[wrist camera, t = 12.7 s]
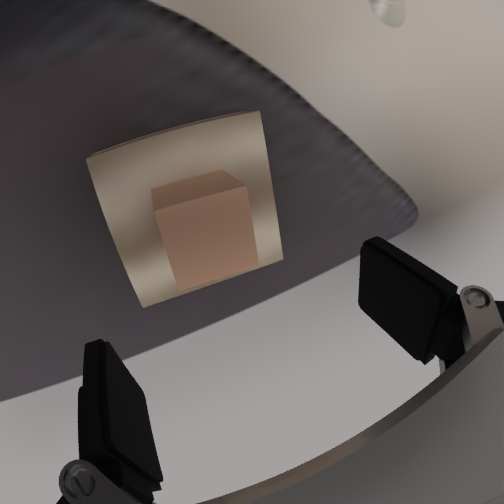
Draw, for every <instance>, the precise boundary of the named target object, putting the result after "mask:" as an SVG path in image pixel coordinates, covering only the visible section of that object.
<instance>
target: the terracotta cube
mask: <svg viewBox="0 0 504 504" xmlns="http://www.w3.org/2000/svg"><path fill="white" fill-rule="evenodd" d="M151 193H152V201H153V208H154V213H155V217H156V220H157V224H158V227H159V230H160V234H161V237H162V240H163V244H164V247H165V250H166V253H167V256H168V260H169V263H170V266H171V269H172V272H173V275H174V278H175V281H176V284H177V287H178V290H179V291H181V290H184V289H187V288H190V287H194V286H197V285H200V284H203V283H206V282H209V281H213V280H216V279H219V278H222V277H225V276H228V275H232V274H235V273H238V272H241V271H244V270H247V269H250V268H253V267H256V266H259V260H258V253H257V247H256V241H255V235H254V228H253V222H252V216H251V210H250V203H249V197H248V191H247V185H245V184H244V183H242V182H241V181H239V180H238V179H236V178H235V177H233V176H232V175H230V174H229V173H227V172H226V171H224V170H219V171H215V172H211V173H207V174H203V175H199V176H195V177H191V178H187V179H184V180H180V181H176V182H173V183H169V184H166V185H162V186H159V187H155V188H152V189H151Z"/></svg>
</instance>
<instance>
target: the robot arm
mask: <svg viewBox="0 0 504 504" xmlns="http://www.w3.org/2000/svg"><path fill="white" fill-rule="evenodd" d="M457 289H458V286H456V285H455V284H453V283H452V282H450V281H449V280H447V279H446V278H444V277H443V276H441V275H440V274H438V273H437V272H435V271H434V270H432V269H431V268H429V267H427V266H426V265H424V264H423V263H421V262H419V261H418V260H417V259H415V258H413V257H412V256H410V255H409V254H407V253H405V252H404V251H402V250H400V249H399V248H397V247H395V246H394V245H392V244H391V243H389V242H387V241H386V240H384V239H382V238H381V237H378V236H376V237H373V238H371V239H368V240H366V241H364V243H363V246H362V247H361V250H360V278H359V296H358V297H359V298H358V303H359V306H360V308H361V309H362V310H363V311H364V312H365V313H366V314H367V315H368V316H369V317H370V318H371V319H372V320H374V321H375V322H376V323H377V324H378V325H379V326H380V327H381V328H382V329H383V330H384V331H386V332H387V333H388V334H389V335H390V336H391V337H392V338H393V339H394V340H395V341H396V342H397V343H398V344H400V346H402V347H403V348H404V349H405V350H406V351H407V352H408V353H409V354H410V355H411V356H412V357H413V358H414V359H416V360H420V361H421V362H422V363H423V364H424V365H426V364H427V363H428V362H429V361H431V360H432V359H433V358H434V357H435V355H436V356H437V357H438V358H439V365H440V376H439V377H437V378H436V379H435V380H434V381H433V382H431V383H430V384H429V385H428V386H426V387H425V388H424V389H422V390H421V391H420V392H419V393H417V394H416V395H415V396H413V397H412V398H411V399H409V400H408V401H407V402H405V403H404V404H403V405H401V406H400V407H398V408H397V409H396V410H394V411H393V412H391V413H390V414H388V415H387V416H385V417H384V418H382V419H381V420H379V421H378V422H376V423H375V424H373V425H372V426H370V427H369V428H367V429H365V430H364V431H362V432H361V433H359V434H357V435H356V436H354V437H352V438H351V439H349V440H347V441H345V442H344V443H342V444H340V445H338V446H336V447H335V448H333V449H331V450H329V451H327V452H325V453H323V454H322V455H320V456H318V457H316V458H314V459H312V460H310V461H308V462H306V463H304V464H301V465H300V466H297V467H295V468H293V469H291V470H289V471H286V472H284V473H282V474H279V475H277V476H275V477H272V478H270V479H267V480H265V481H262V482H260V483H257V484H255V485H252V486H249V487H247V488H244V489H241V490H238V491H235V492H232V493H229V494H226V495H223V496H221V497H218V498H214V499H211V500H208V501H204V502H201V503H197V504H504V301H494V299H493V297H492V295H491V294H490V293H489V292H488V291H487V290H485V289H484V288H482V287H479V286H474V285H471V286H466V287H465V288H463V289H462V290H461V292H460V295H459V294H457V293H456V292H457ZM78 443H79V460H73V461H71V462H69V463H68V464H66V465H65V466H64V468H63V469H62V471H61V473H60V476H59V487H60V490H61V492H62V494H63V495H62V497H61V498H60V500H59V501H58V502H57V503H56V504H156V503H155V502H153V500H154V497H153V493H152V492H154V491H158V490H162V489H161V486H160V482H162V481H163V475H162V471H161V468H160V464H159V460H158V456H157V452H156V447H155V443H154V439H153V434H152V430H151V425H150V420H149V415H148V410H147V405H146V399H145V395H144V393H143V391H142V389H141V387H140V386H139V385H138V383H137V382H136V381H135V379H134V378H133V377H132V375H131V374H130V372H129V371H128V369H127V368H126V367H125V365H124V364H123V362H122V361H121V359H120V358H119V356H118V355H117V353H116V352H115V350H114V349H113V347H112V346H111V344H110V343H109V342H108V341H107V342H104V341H103V340H102V339H98V340H95V341H92V342H89V343H86V344H85V350H84V365H83V386H82V387H80V388H79V392H78Z"/></svg>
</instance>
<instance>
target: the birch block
mask: <svg viewBox="0 0 504 504" xmlns="http://www.w3.org/2000/svg"><path fill="white" fill-rule="evenodd" d="M86 162H87V165H88V168H89V172H90V175H91V178H92V181H93V184H94V187H95V190H96V193H97V196H98V199H99V202H100V205H101V208H102V211H103V214H104V216H105V219H106V222H107V225H108V227H109V230H110V232H111V235H112V238H113V240H114V243H115V245H116V248H117V250H118V253H119V255H120V258H121V260H122V262H123V265H124V267H125V269H126V272H127V274H128V276H129V279H130V281H131V283H132V285H133V288H134V290H135V292H136V294H137V296H138V298H139V301H140V303H141V305H142V307H143V308H144V307H147V306H150V305H153V304H156V303H159V302H162V301H165V300H168V299H171V298H174V297H177V296H180V295H183V294H186V293H189V292H192V291H195V290H198V289H200V288H203V287H206V286H209V285H212V284H215V283H218V282H221V281H224V280H226V279H229V278H232V277H235V276H238V275H241V274H244V273H246V272H249V271H252V270H255V269H258V268H261V267H263V266H266V265H269V264H272V263H275V262H277V261H280V260H283V254H282V247H281V240H280V233H279V226H278V219H277V212H276V206H275V199H274V193H273V186H272V180H271V174H270V168H269V161H268V155H267V149H266V143H265V137H264V132H263V126H262V120H261V114H260V111H241V112H236V113H231V114H227V115H222V116H217V117H213V118H208V119H204V120H200V121H196V122H192V123H188V124H184V125H180V126H177V127H173V128H169V129H166V130H162V131H159V132H155V133H152V134H149V135H146V136H142V137H139V138H136V139H133V140H130V141H127V142H124V143H121V144H118V145H115V146H112V147H110V148H107V149H104V150H101V151H99V152H96V153H94V154H92V155H91V156H90V157H88V158H87V159H86ZM219 170H224V171H226V172H227V173H229V174H230V175H232V176H233V177H235V178H236V179H238V180H239V181H241V182H242V183H244V184H245V185H247V191H248V197H249V203H250V210H251V216H252V222H253V228H254V235H255V241H256V247H257V253H258V260H259V266H256V267H253V268H250V269H247V270H244V271H241V272H238V273H235V274H232V275H228V276H225V277H222V278H219V279H216V280H213V281H209V282H206V283H203V284H200V285H197V286H194V287H190V288H187V289H184V290H181V291H179V290H178V287H177V284H176V281H175V278H174V275H173V272H172V269H171V266H170V263H169V260H168V256H167V253H166V250H165V247H164V244H163V240H162V237H161V234H160V230H159V227H158V224H157V220H156V217H155V213H154V208H153V201H152V193H151V189H152V188H155V187H159V186H162V185H166V184H169V183H173V182H176V181H180V180H184V179H187V178H191V177H195V176H199V175H203V174H207V173H211V172H215V171H219Z"/></svg>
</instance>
